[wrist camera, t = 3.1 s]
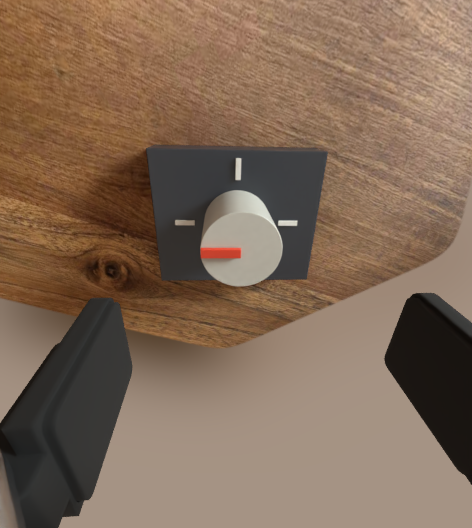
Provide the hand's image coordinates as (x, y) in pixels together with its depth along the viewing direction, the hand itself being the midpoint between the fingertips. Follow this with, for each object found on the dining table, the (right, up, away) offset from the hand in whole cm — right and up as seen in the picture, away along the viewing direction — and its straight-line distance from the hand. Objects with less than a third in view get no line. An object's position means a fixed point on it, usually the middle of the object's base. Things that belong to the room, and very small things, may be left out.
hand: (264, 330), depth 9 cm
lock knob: (-1, +5, +11) cm, 12 cm away
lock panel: (-1, +7, +14) cm, 15 cm away
